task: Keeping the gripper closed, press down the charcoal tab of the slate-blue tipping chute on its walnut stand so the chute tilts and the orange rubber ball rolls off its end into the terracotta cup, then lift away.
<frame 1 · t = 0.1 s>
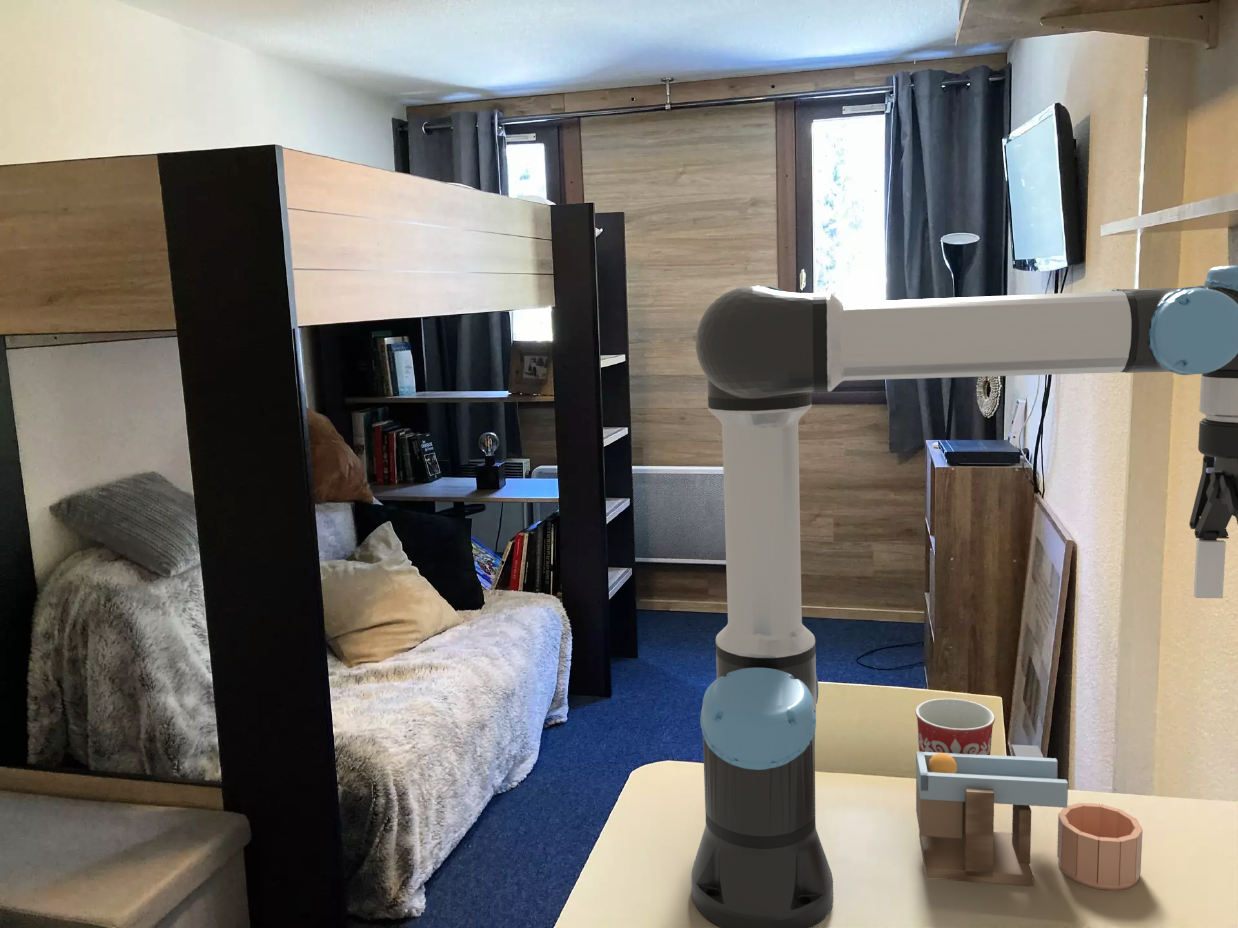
hand: (1230, 616, 105), 28 cm above the table, fingers open, 13 cm apart
stand: (973, 859, 111), on the table
chute: (984, 782, 113), point 8 cm above the table, hinge at 0.0°, touching ball
cup: (1098, 868, 109), on the table
mug: (952, 811, 122), on the table
ball: (942, 766, 110), point 11 cm above the table, touching chute
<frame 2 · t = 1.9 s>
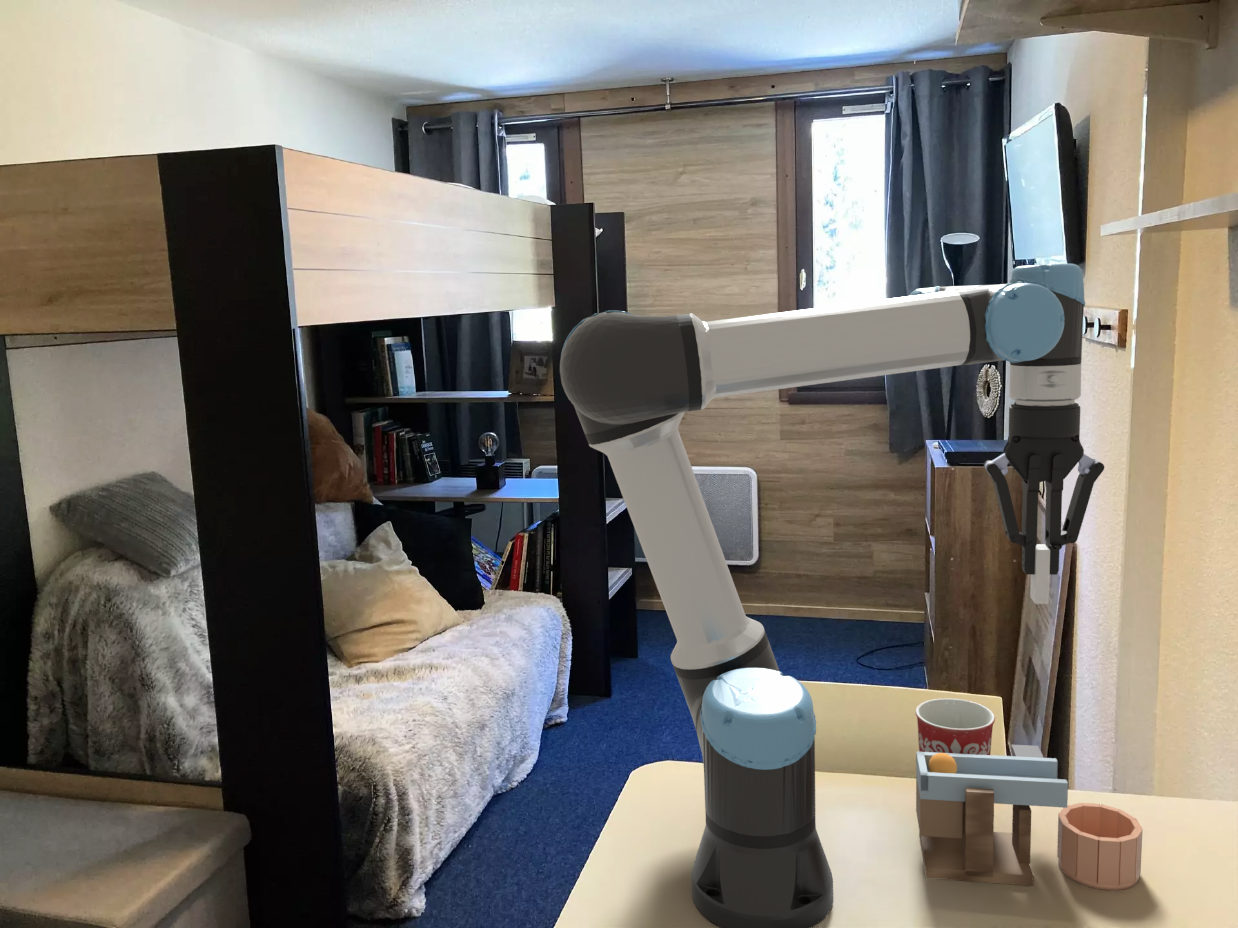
hand: (1039, 600, 117), 27 cm above the table, fingers closed
nothing on the table moved.
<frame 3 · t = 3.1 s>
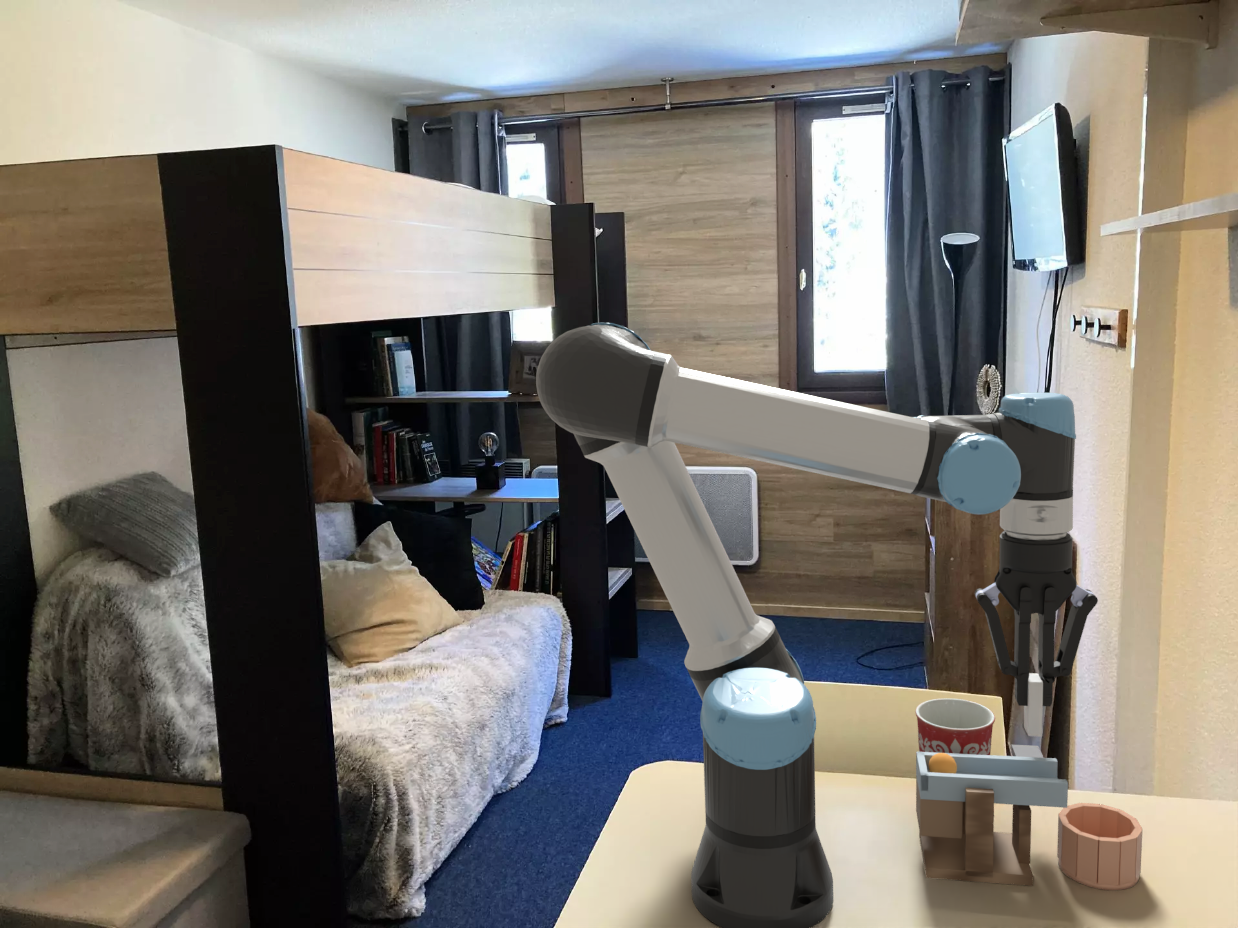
hand: (1032, 730, 114), 13 cm above the table, fingers closed
nothing on the table moved.
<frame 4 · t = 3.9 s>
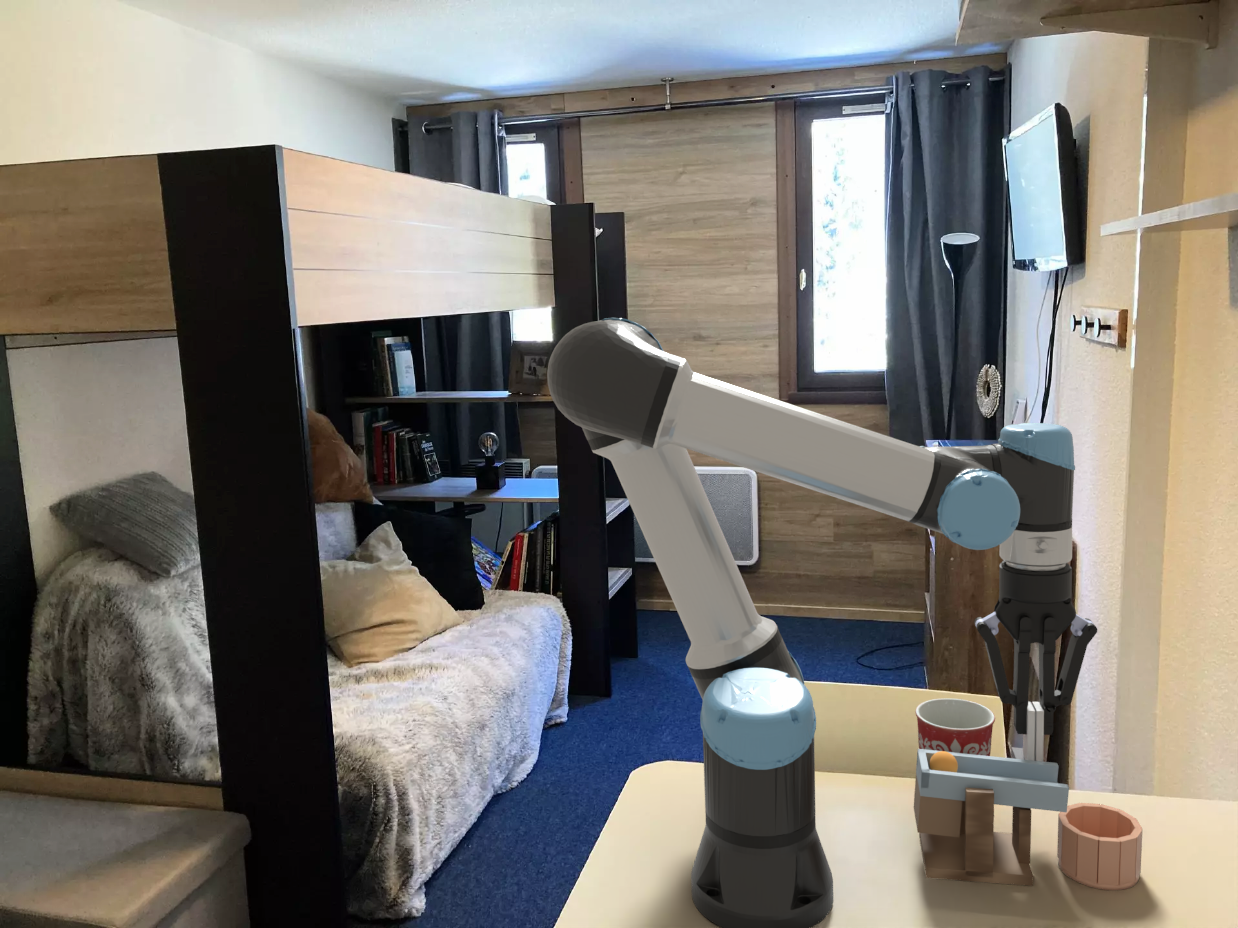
hand: (1032, 758, 115), 9 cm above the table, fingers closed
chute: (983, 783, 113), point 8 cm above the table, hinge at 3.5°, touching ball, gripper
everything else where it was.
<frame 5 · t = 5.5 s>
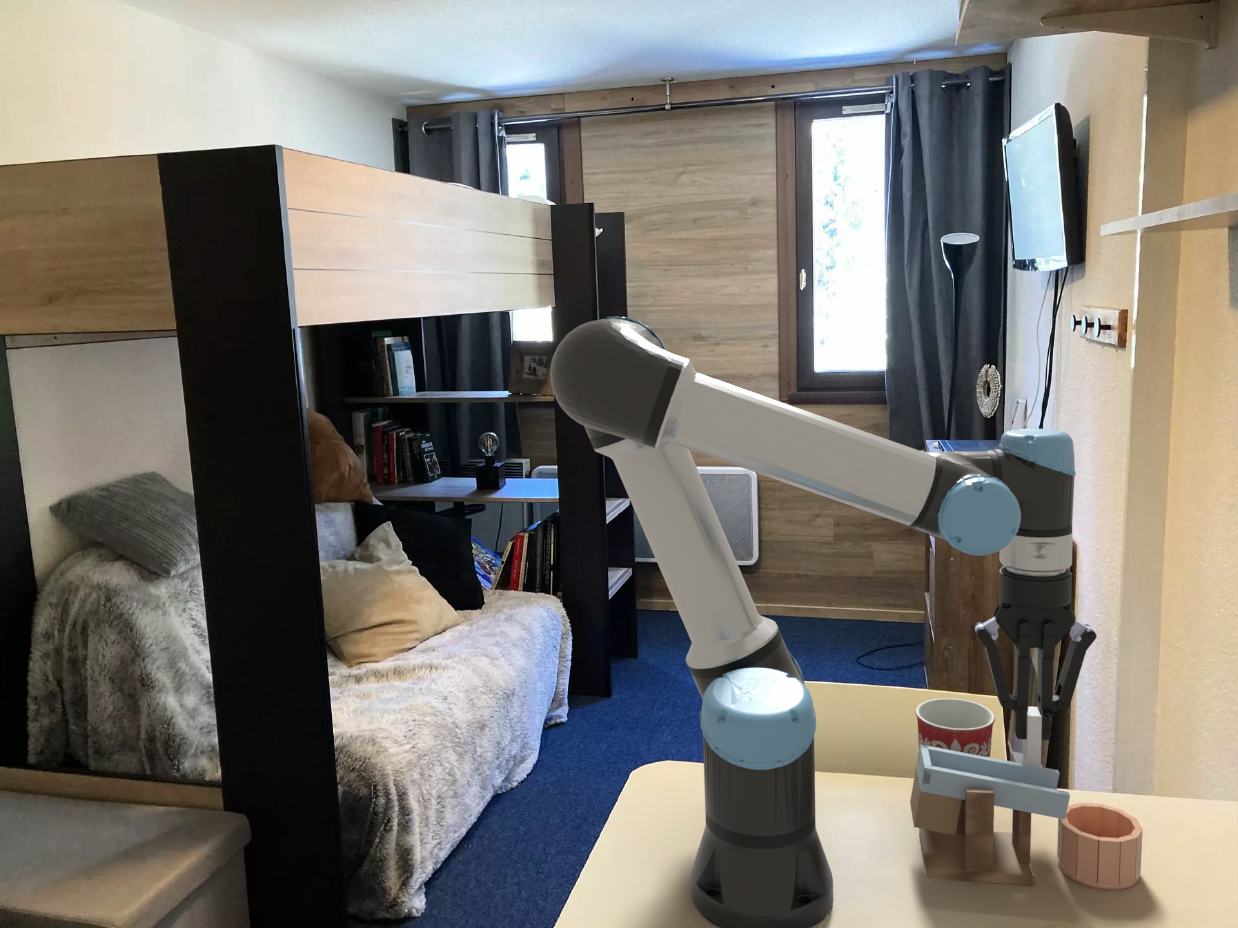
hand: (1031, 763, 115), 9 cm above the table, fingers closed
chute: (982, 783, 113), point 7 cm above the table, hinge at 8.8°, touching gripper
ball: (1093, 850, 108), point 2 cm above the table, tilted 127°, touching cup
everything else where it was.
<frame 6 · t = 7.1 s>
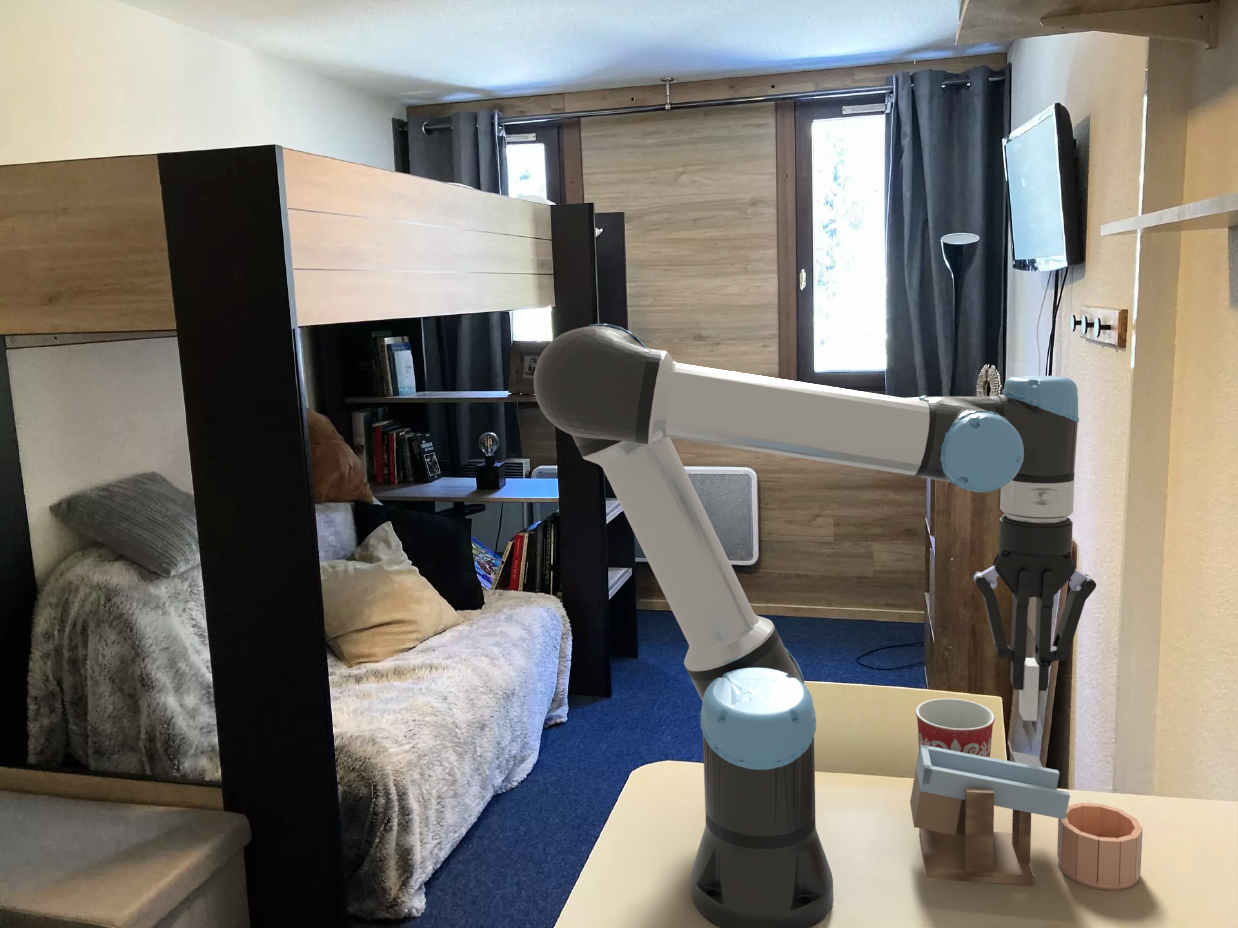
hand: (1027, 715, 114), 15 cm above the table, fingers closed
chute: (982, 783, 113), point 7 cm above the table, hinge at 8.8°
ball: (1115, 852, 108), point 2 cm above the table, tilted 43°, touching cup
everything else where it was.
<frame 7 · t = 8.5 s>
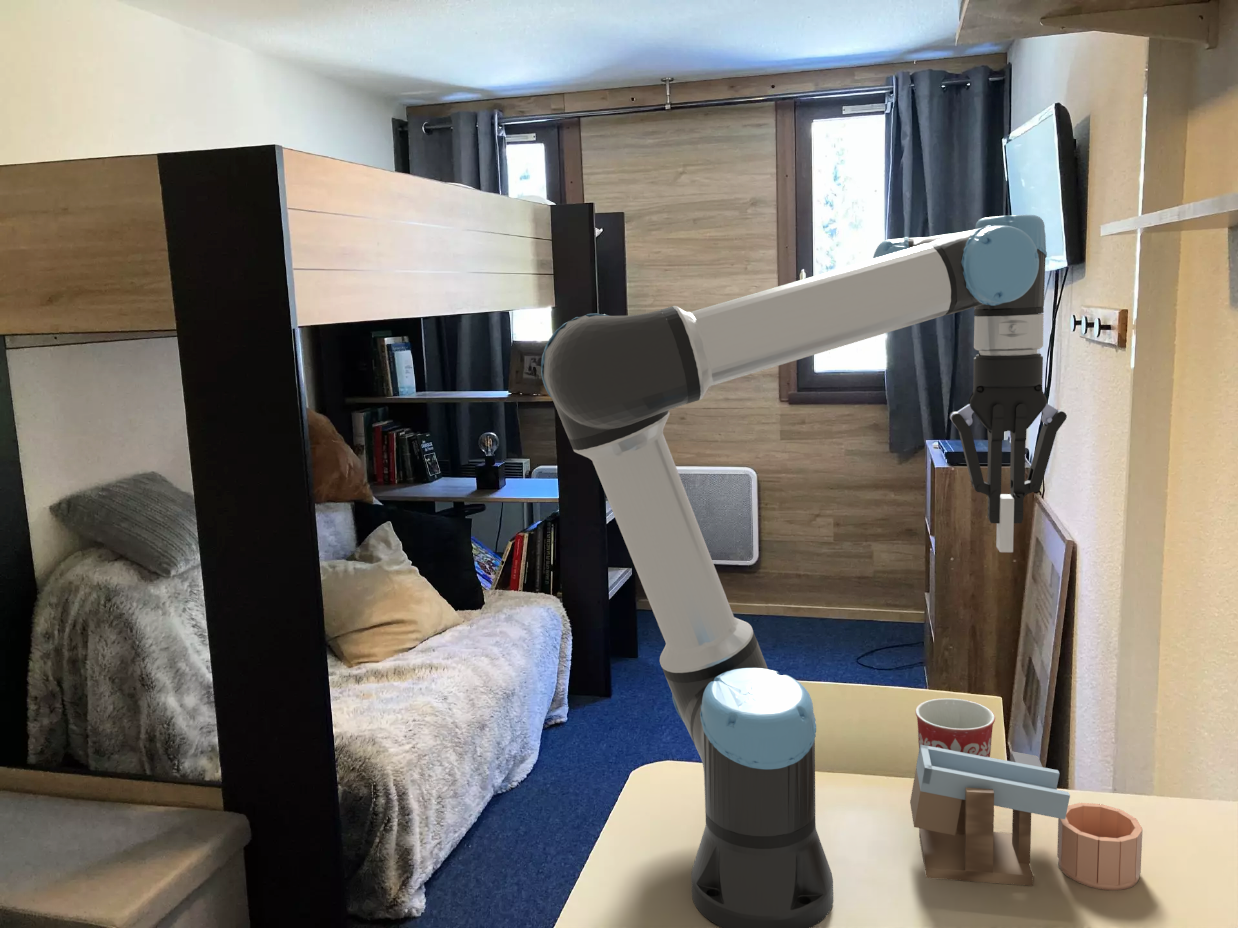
hand: (1004, 549, 119), 32 cm above the table, fingers closed
ball: (1107, 851, 108), point 2 cm above the table, tilted 74°, touching cup
everything else where it was.
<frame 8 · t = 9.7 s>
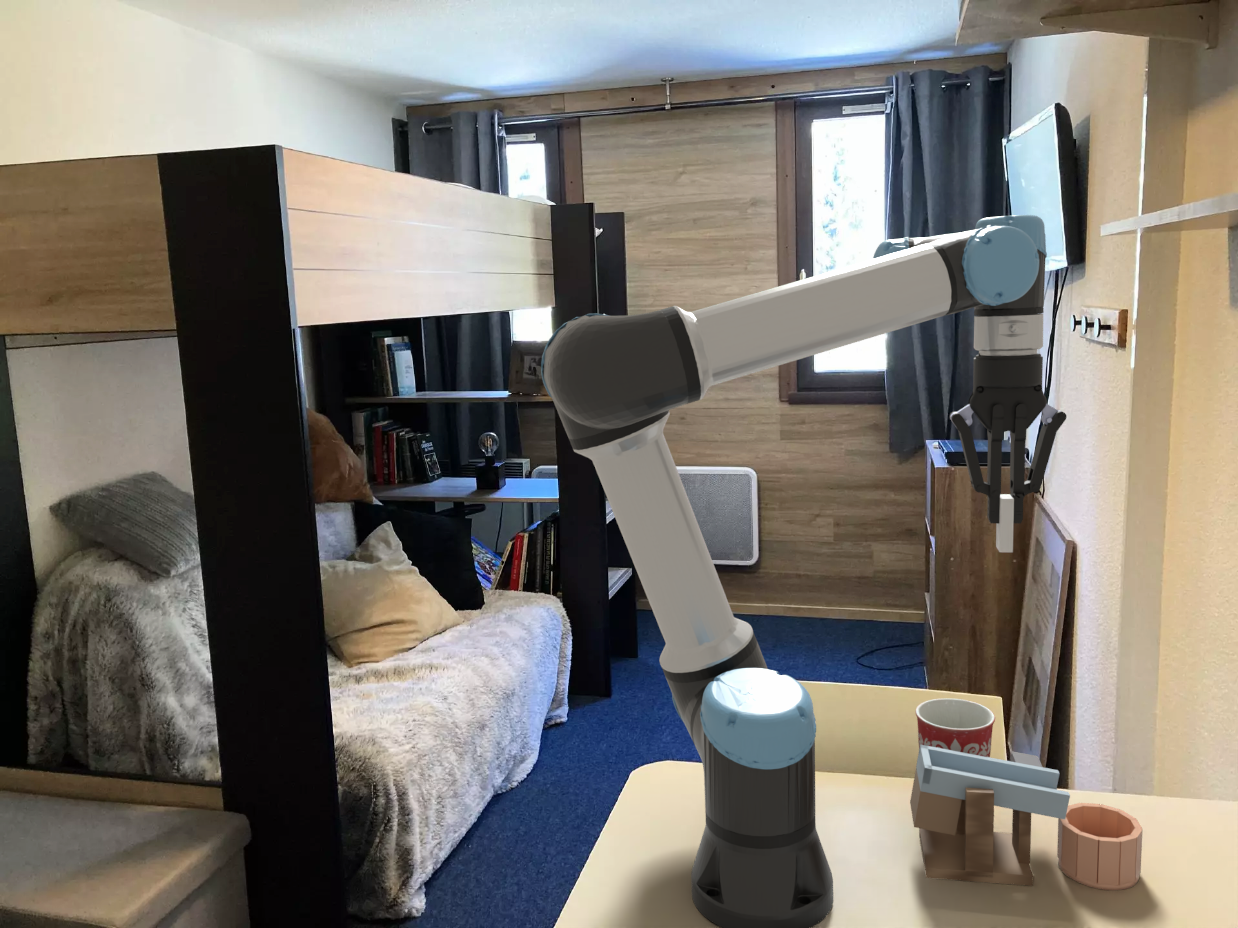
hand: (1004, 549, 119), 32 cm above the table, fingers closed
ball: (1100, 851, 108), point 2 cm above the table, tilted 100°, touching cup
everything else where it was.
at the end: ball 0.2 cm off-centre on the cup, point 2.1 cm above the cup's base; ball point 2.1 cm above the table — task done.
